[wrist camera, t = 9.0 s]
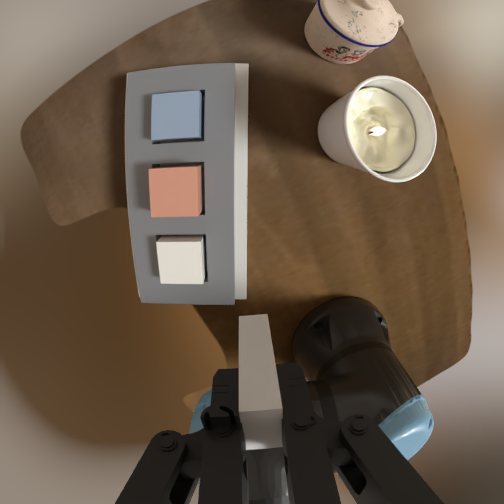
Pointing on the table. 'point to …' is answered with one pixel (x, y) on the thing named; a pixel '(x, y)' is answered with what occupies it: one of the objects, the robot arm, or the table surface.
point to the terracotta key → (175, 191)
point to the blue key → (177, 116)
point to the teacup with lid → (350, 28)
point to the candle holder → (380, 129)
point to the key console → (212, 176)
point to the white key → (181, 259)
